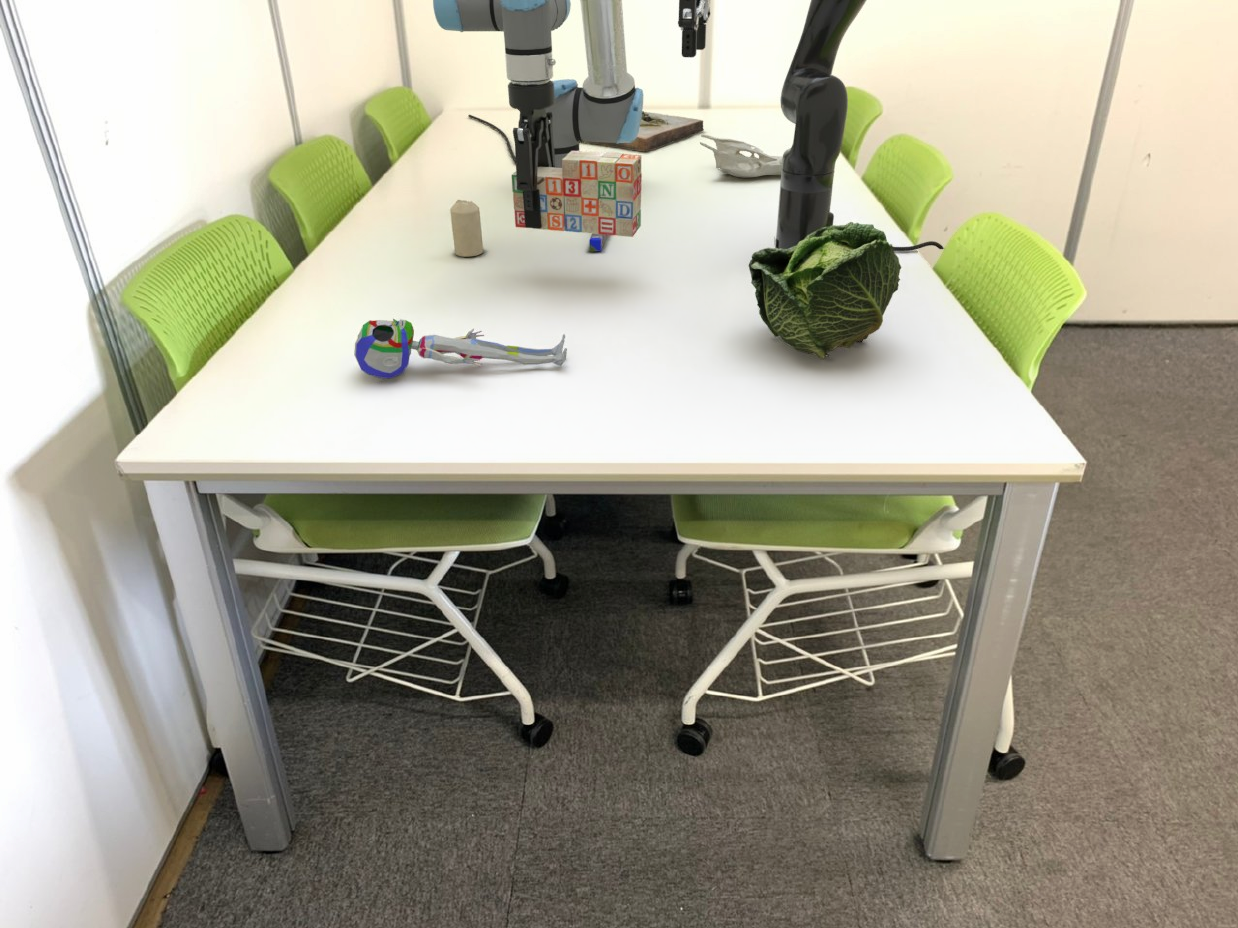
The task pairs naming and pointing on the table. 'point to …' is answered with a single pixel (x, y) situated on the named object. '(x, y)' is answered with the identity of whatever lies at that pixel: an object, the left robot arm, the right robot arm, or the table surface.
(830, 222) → the right robot arm
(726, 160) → the anatomical model
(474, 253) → the candle
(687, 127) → the plaque
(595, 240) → the blue-tipped grey rod
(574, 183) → the stack of blocks
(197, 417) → the table surface
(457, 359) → the toy
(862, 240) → the vegetable
